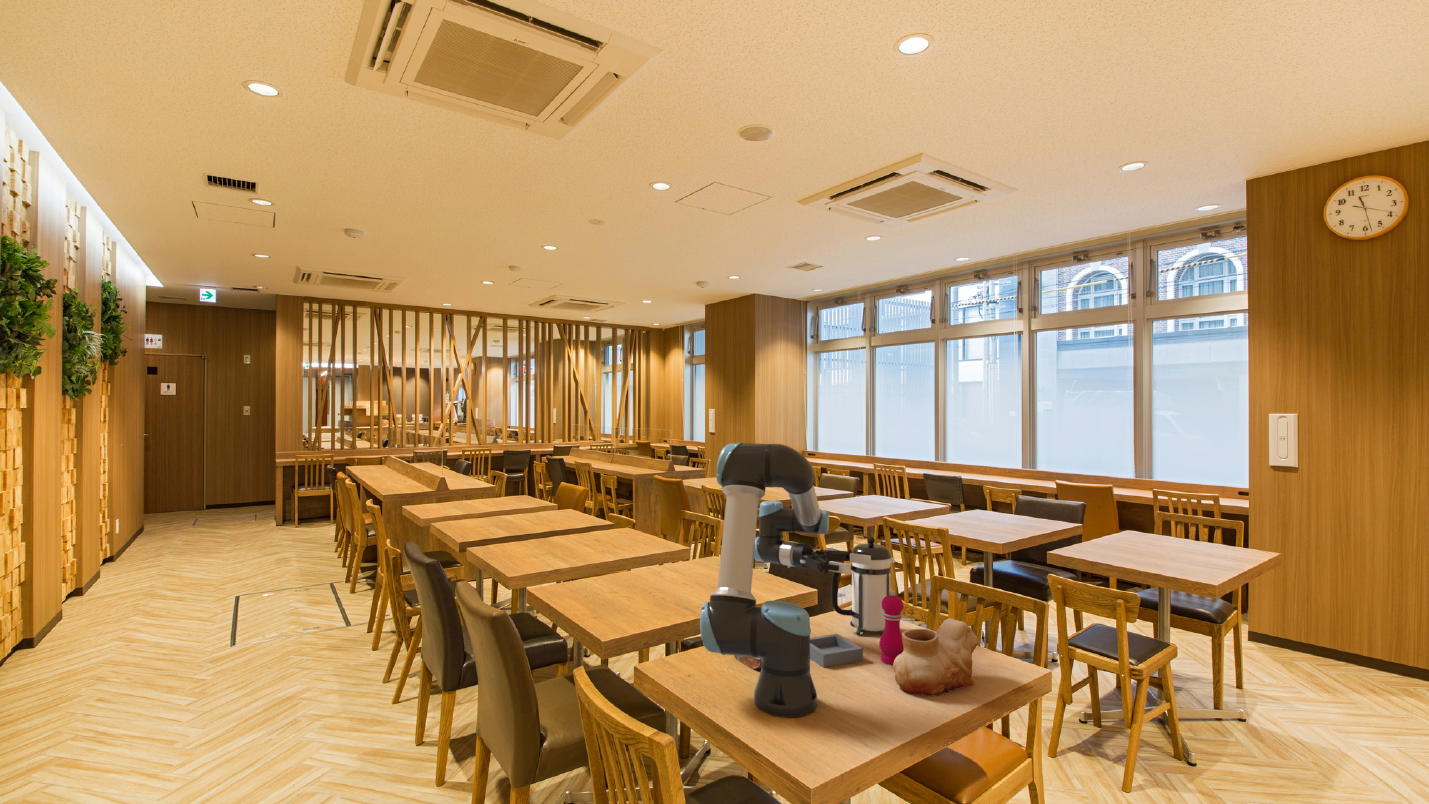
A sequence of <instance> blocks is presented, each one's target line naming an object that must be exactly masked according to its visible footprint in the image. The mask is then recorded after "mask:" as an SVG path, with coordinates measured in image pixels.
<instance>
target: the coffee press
mask: <svg viewBox="0 0 1429 804" xmlns="http://www.w3.org/2000/svg"><path fill="white" fill-rule="evenodd" d="M875 541H876V539H875V538H874V537H872V536H869V537H868V538H867V542H868V543H860V544H857V545H855V546H854V547H853V548H852V549H851V550H852V553H854V554H861V555H868V556H871V565H864V564H858V563H851V562H850V564H851V608H850V609H843V608H841V607H840V606H839V604H838V603H839V602H838V598H839V597H838V588H839V587H838V583H839V582H838V580H839V575H840V574H841V573H838V572H833V573H832V576H831V578H832V579H831V604H832V608H833V609H834V611H835V612H836V613H837V614H839V615H842V616H850V617H851V621H850V622H849V623H850V624H849V625H850V626H852V627H855V628H856V633H855V634H856V636H859V637H862V636H863V634H864V632H866V631H867V632H883V631H884V628H885V618H883V616H884V614H883V612H885V611H884V610H883V608H882V605H881V604H882V600H883V598H884V597H885V596H888V595H890V594H889V592H890V591H891V573H892V565H891V564H892V563H896V559H894V558H893V556H892V553H891V551H890V549H889V548H888V547H886V545H885V546H884V545H882V544H879V543H875Z"/></svg>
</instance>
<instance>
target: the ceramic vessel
mask: <svg viewBox="0 0 1429 804" xmlns="http://www.w3.org/2000/svg"><path fill="white" fill-rule="evenodd" d="M901 634H902V641H903V646H904V651H903V652H902V653H901V654H899V655H898V656H897V657H896V658H895V660H894V663H893V665H892V669H893V673H894V679H895V682H896V684H897V685H898V686H899V690H900V691H901V692H902V693H906V694H910V695H923V696H927V697H935V696H942V695H943V694H946V693H949V692H950V691H951V692H952V691H955V690H958V689H962V688H963V687H964V688H968V687H967V686H970V687H974V686H975V680H974V677H973V675H972V674H973V658H972V657H973V653H974V650H975V649H976V648H977V646H978V645H979V641H978V637H977V635H976V634H975V632H974V631H973V628H972V627H971V626H969V625H968V624H967V623H966V622H964V621H960V620H956V619H954V618H953V617H950V618H946V619H945V620H943V621H942V622H941V623H940V625H939V627H938V629H937V630H936V631H934V630H932V629H928V628H912V629H911V628H910V629H907V630H905V631H903V632H901Z"/></svg>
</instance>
